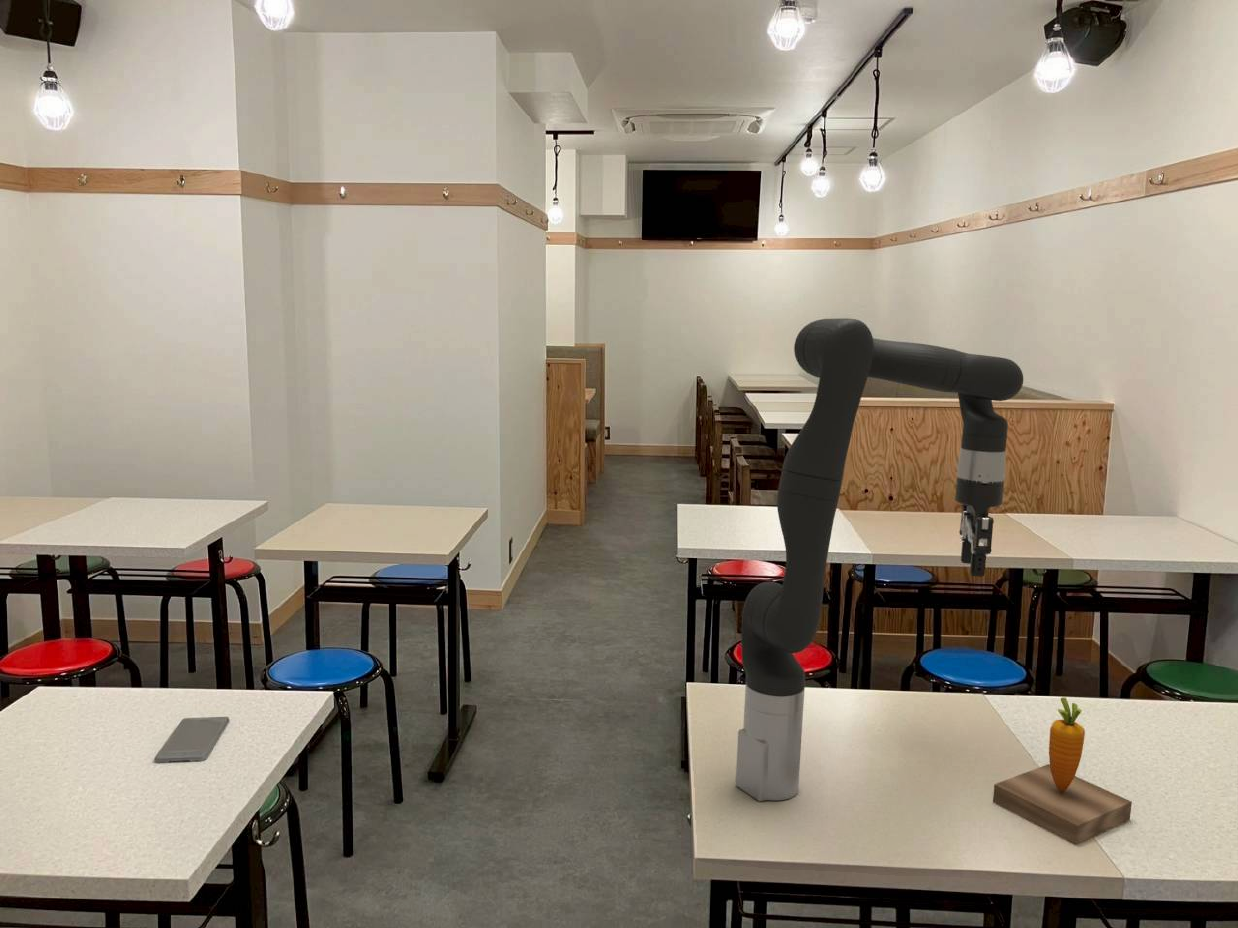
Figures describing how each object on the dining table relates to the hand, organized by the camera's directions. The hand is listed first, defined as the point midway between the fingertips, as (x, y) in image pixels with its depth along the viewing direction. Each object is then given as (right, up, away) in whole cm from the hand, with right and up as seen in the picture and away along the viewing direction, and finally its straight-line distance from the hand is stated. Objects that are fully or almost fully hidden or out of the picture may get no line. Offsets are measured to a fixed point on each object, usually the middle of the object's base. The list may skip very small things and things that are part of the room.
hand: (972, 569), depth 162 cm
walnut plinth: (+8, -36, -15) cm, 40 cm away
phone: (-134, -30, +1) cm, 137 cm away
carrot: (+8, -33, -15) cm, 37 cm away
